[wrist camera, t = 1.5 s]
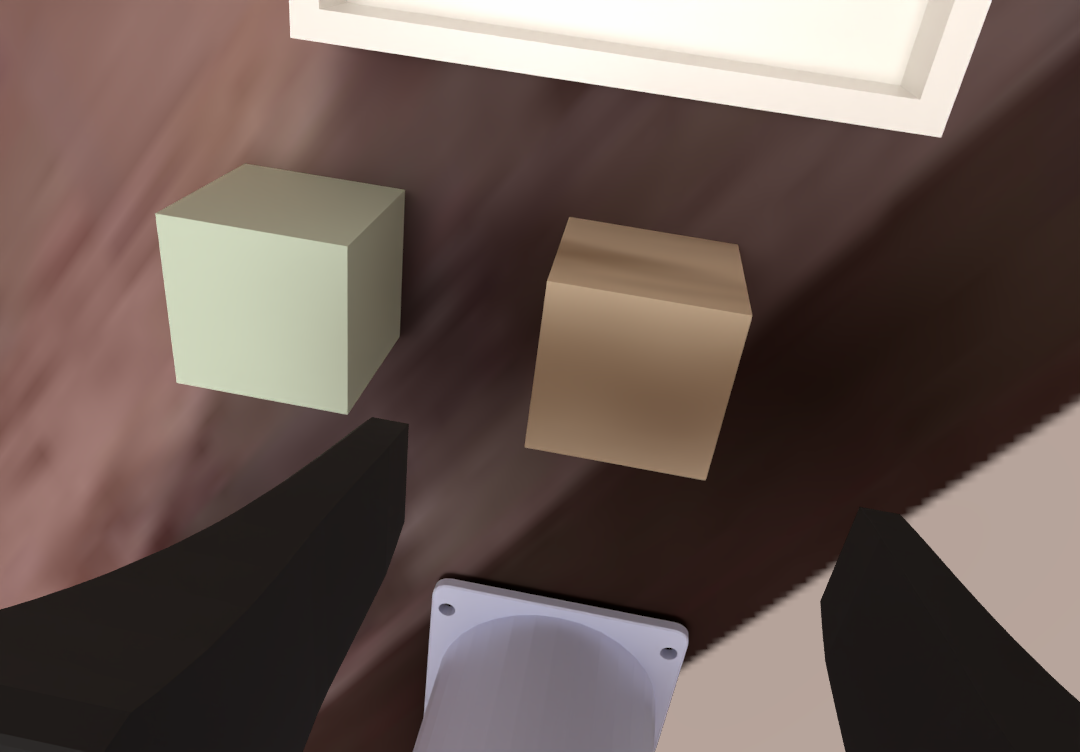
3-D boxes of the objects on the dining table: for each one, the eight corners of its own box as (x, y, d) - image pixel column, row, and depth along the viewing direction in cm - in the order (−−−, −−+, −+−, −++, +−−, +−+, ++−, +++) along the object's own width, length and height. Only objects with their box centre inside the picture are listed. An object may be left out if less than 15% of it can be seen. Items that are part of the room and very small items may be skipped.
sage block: (400, 335, 21) (347, 414, 18) (256, 309, 22) (176, 383, 18) (406, 189, 19) (346, 246, 16) (247, 162, 20) (155, 213, 16)
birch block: (699, 387, 21) (705, 480, 17) (548, 361, 21) (524, 446, 18) (737, 243, 19) (752, 315, 15) (569, 215, 19) (547, 280, 16)
